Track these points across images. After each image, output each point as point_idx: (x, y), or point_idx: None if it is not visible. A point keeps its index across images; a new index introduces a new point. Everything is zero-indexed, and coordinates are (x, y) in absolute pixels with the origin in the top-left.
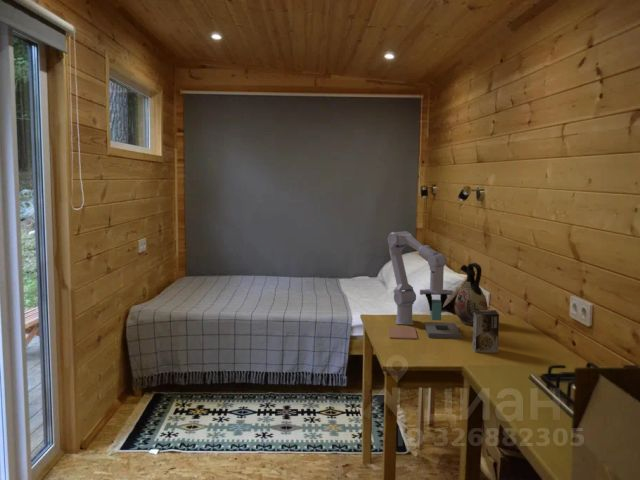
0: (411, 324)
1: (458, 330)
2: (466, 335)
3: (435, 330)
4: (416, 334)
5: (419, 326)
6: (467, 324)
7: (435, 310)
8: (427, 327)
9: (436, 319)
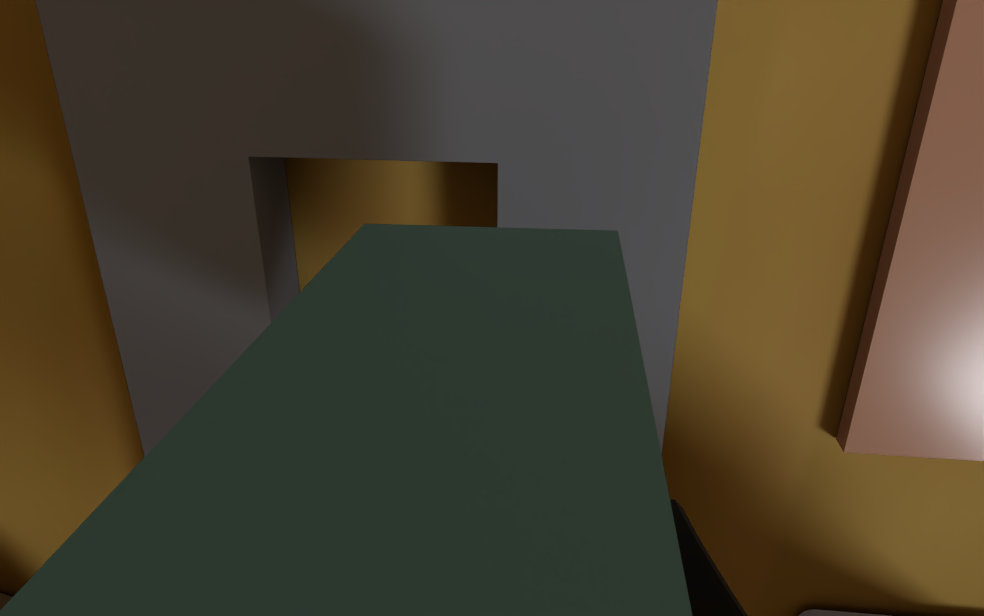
0: (831, 612)
1: (86, 161)
2: (5, 123)
3: (532, 123)
4: (959, 5)
5: (716, 549)
6: None
7: (499, 361)
8: (659, 322)
9: (488, 235)
